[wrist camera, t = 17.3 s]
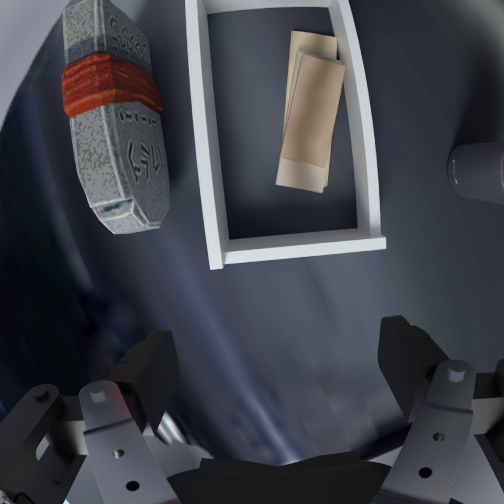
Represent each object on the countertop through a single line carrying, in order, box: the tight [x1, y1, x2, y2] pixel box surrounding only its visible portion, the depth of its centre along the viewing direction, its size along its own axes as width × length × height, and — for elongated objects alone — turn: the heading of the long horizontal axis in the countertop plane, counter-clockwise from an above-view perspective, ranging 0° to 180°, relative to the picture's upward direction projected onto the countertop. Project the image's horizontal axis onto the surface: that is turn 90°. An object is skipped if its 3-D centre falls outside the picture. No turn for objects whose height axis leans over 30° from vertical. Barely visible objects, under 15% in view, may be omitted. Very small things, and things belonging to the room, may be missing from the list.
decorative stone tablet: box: [62, 0, 169, 234], centre depth 34 cm, size 19×6×30 cm
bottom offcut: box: [282, 31, 337, 186], centre depth 42 cm, size 7×24×2 cm, turn 175°
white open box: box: [185, 0, 386, 270], centre depth 37 cm, size 22×40×10 cm, turn 6°
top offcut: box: [279, 55, 345, 168], centre depth 38 cm, size 6×15×2 cm, turn 168°
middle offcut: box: [275, 51, 342, 193], centre depth 40 cm, size 6×20×2 cm, turn 171°
